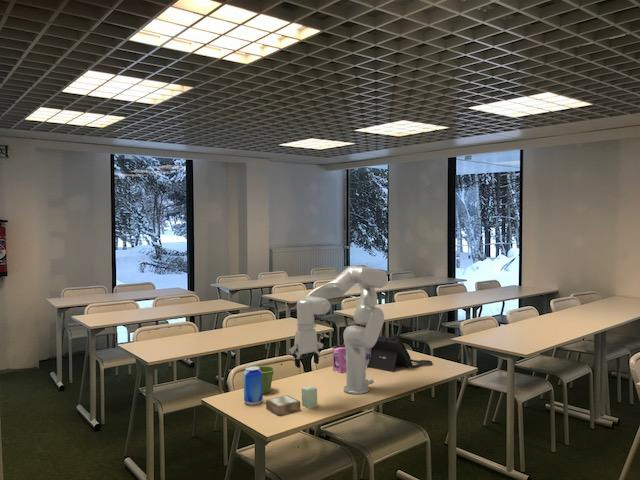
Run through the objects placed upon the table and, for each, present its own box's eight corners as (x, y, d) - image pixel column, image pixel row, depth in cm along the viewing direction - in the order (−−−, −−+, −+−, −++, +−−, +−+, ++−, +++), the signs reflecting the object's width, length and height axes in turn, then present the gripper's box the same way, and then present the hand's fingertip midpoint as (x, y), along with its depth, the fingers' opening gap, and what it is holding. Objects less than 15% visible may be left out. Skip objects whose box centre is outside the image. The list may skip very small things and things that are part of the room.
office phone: (435, 363, 295) (434, 329, 295) (408, 375, 274) (408, 337, 273) (392, 355, 315) (391, 323, 314) (364, 365, 293) (364, 330, 293)
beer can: (247, 406, 231) (246, 371, 231) (242, 401, 239) (241, 367, 239) (264, 403, 235) (263, 369, 234) (259, 398, 242) (258, 364, 242)
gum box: (339, 374, 280) (338, 349, 280) (330, 371, 286) (329, 346, 286) (372, 366, 294) (371, 342, 293) (363, 363, 300) (362, 340, 300)
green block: (311, 403, 234) (310, 385, 234) (317, 406, 230) (316, 388, 230) (302, 405, 231) (301, 387, 231) (308, 408, 227) (307, 390, 227)
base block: (287, 403, 234) (287, 394, 234) (300, 410, 225) (300, 401, 225) (266, 408, 228) (266, 399, 228) (278, 416, 219) (278, 406, 219)
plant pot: (261, 397, 244) (261, 373, 244) (246, 392, 252) (245, 369, 252) (280, 391, 252) (279, 368, 252) (264, 386, 261) (264, 364, 260)
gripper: (317, 323, 237) (318, 360, 238) (284, 328, 228) (286, 366, 228) (326, 325, 231) (327, 363, 232) (293, 331, 222) (294, 370, 222)
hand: (307, 365), depth 230 cm, fingers open, 9 cm apart
